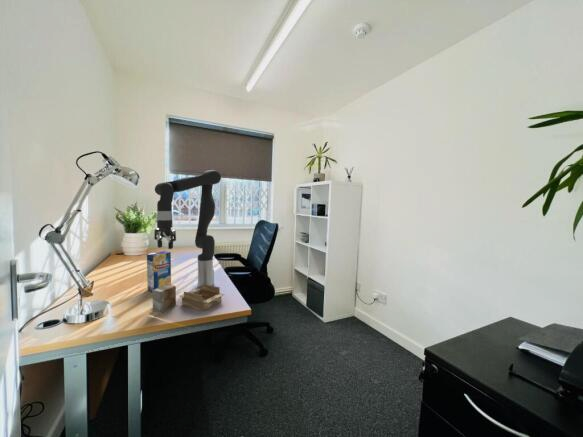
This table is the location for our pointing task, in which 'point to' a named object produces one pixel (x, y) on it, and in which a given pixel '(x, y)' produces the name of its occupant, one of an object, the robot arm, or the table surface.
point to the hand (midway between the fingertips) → (165, 248)
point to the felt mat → (167, 309)
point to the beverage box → (158, 270)
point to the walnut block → (164, 298)
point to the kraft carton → (202, 297)
